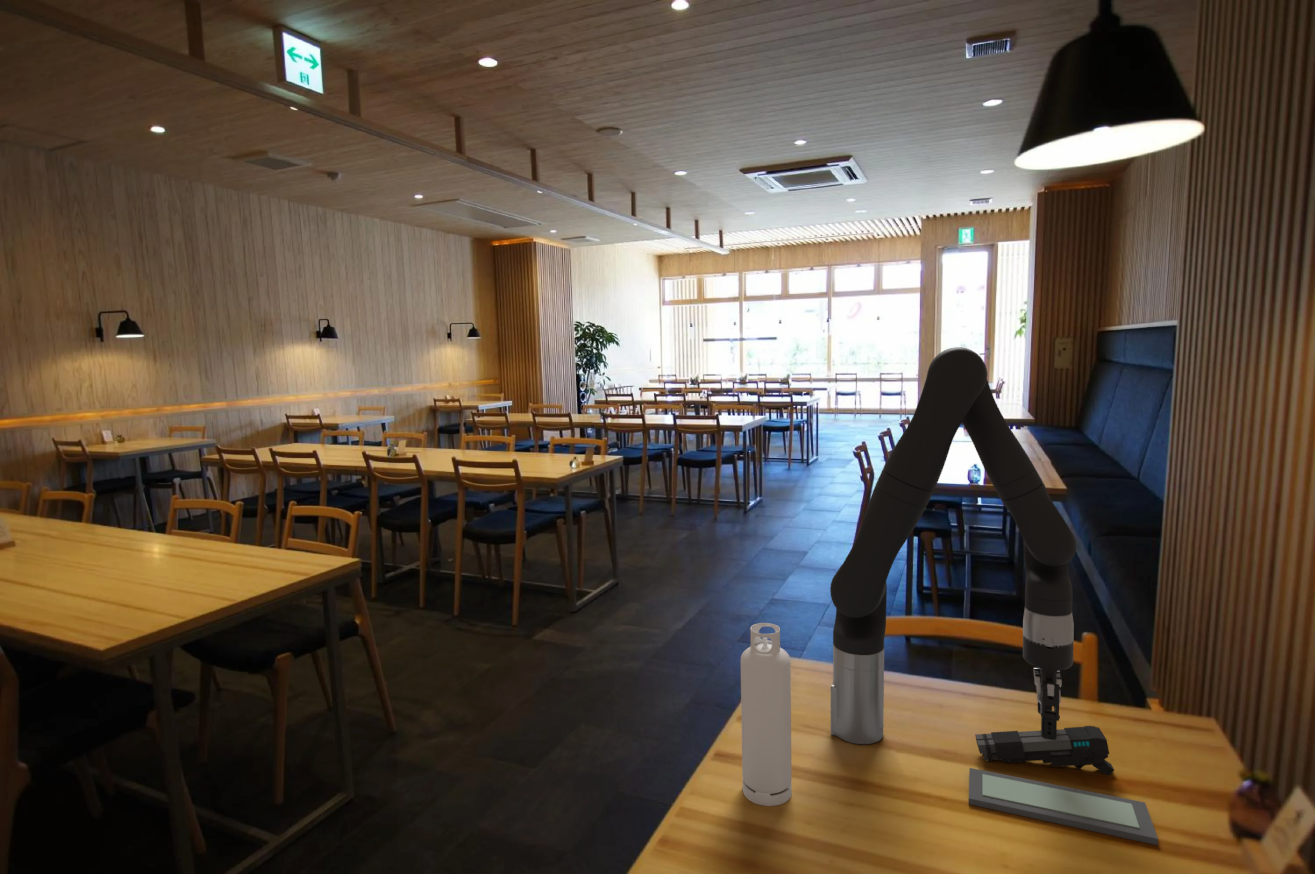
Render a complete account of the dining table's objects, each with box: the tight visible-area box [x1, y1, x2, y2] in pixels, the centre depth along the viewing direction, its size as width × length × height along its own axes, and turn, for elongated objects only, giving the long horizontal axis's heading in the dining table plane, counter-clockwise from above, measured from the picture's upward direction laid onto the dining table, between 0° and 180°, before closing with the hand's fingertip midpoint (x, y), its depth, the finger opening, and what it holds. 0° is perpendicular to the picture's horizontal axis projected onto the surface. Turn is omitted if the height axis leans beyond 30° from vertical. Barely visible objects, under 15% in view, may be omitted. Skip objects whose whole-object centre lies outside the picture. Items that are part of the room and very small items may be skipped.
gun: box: [974, 725, 1115, 776], centre depth 122 cm, size 4×20×10 cm, turn 74°
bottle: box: [740, 622, 793, 807], centre depth 116 cm, size 8×8×28 cm
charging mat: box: [968, 767, 1159, 846], centre depth 111 cm, size 25×9×1 cm, turn 65°
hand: (1046, 725), depth 121 cm, fingers open, 8 cm apart
